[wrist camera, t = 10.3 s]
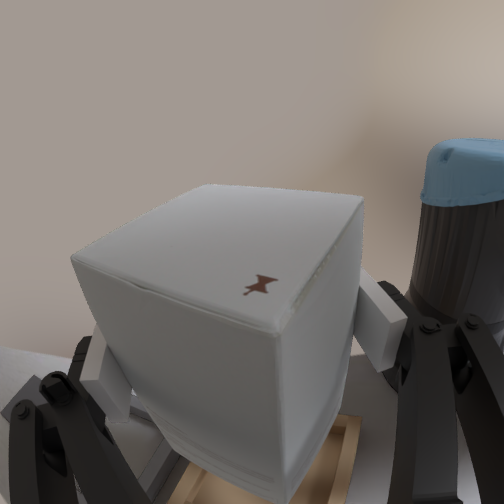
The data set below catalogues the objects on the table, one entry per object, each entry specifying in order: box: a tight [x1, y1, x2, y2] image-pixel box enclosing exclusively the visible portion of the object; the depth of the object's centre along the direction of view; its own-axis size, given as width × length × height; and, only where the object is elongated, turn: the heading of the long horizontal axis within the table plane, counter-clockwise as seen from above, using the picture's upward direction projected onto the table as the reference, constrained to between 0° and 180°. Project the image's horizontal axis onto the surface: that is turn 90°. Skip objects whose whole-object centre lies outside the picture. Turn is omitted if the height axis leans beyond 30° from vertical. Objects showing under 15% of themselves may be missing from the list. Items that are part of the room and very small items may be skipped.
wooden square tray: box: [167, 414, 362, 504], centre depth 19 cm, size 12×12×2 cm
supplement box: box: [71, 184, 364, 504], centre depth 12 cm, size 7×7×13 cm
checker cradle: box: [76, 394, 180, 504], centre depth 21 cm, size 13×14×2 cm
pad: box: [0, 375, 48, 423], centre depth 25 cm, size 8×8×1 cm
